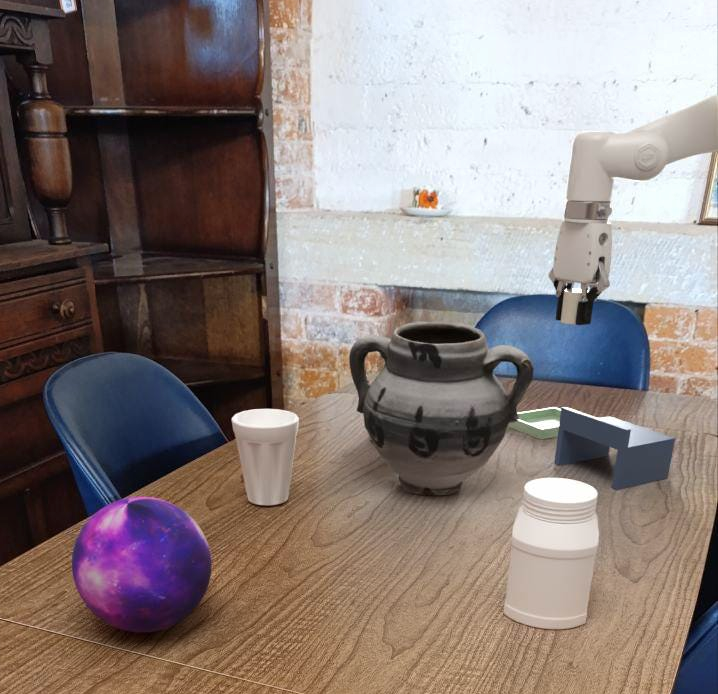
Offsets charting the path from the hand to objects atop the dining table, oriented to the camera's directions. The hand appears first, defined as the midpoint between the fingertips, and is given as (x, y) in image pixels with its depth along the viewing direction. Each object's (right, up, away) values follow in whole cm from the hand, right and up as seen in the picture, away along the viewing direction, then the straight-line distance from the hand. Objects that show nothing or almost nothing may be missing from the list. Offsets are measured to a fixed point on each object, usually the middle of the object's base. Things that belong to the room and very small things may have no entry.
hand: (572, 320), depth 160 cm
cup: (-53, -36, -24) cm, 68 cm away
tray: (-2, -17, +14) cm, 22 cm away
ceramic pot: (-27, -33, -17) cm, 46 cm away
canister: (0, 0, 0) cm, 0 cm away
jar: (-16, -52, -53) cm, 77 cm away
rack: (+4, -29, -8) cm, 30 cm away
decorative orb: (-63, -54, -59) cm, 102 cm away
